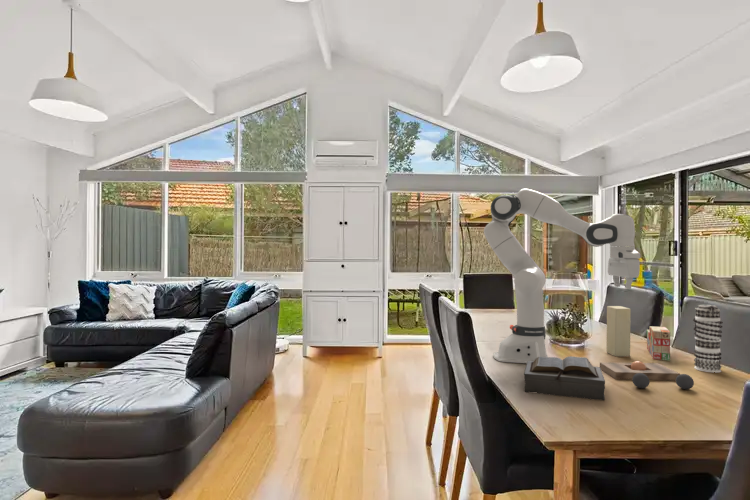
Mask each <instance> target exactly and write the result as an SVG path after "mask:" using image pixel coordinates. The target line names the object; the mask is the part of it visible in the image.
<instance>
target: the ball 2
mask: <svg viewBox="0 0 750 500" xmlns="http://www.w3.org/2000/svg"><path fill="white" fill-rule="evenodd" d="M675 383H676V385H677V387H679V388H680V389H682V390H691V389H692V388H693V387H694V384H695V381H694V379H693V377H692V376H691V375H689V374H687V373H680V375H678V376H677V378H676V380H675Z"/></svg>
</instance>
